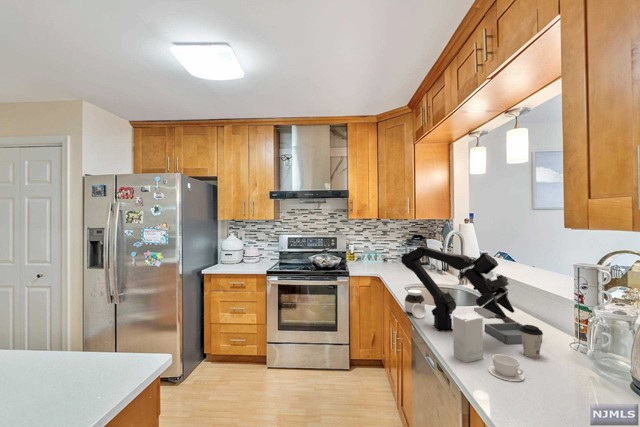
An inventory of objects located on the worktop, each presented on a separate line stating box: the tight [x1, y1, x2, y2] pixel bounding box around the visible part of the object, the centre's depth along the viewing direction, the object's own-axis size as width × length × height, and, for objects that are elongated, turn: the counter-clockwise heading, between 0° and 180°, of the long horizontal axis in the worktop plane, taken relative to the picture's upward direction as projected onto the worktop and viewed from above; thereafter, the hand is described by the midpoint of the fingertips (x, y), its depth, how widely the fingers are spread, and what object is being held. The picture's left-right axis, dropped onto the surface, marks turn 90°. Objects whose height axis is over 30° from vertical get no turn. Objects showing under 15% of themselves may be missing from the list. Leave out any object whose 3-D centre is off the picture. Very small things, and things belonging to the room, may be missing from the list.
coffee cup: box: [520, 324, 544, 359], centre depth 107 cm, size 7×7×10 cm
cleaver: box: [473, 307, 518, 323], centre depth 147 cm, size 29×10×2 cm, turn 3°
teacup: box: [487, 353, 526, 382], centre depth 95 cm, size 10×10×5 cm
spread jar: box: [404, 289, 427, 319], centre depth 151 cm, size 12×11×12 cm
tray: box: [484, 321, 543, 345], centre depth 123 cm, size 16×13×4 cm
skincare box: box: [452, 312, 484, 363], centre depth 105 cm, size 8×6×15 cm
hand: (509, 314), depth 112 cm, fingers open, 9 cm apart
